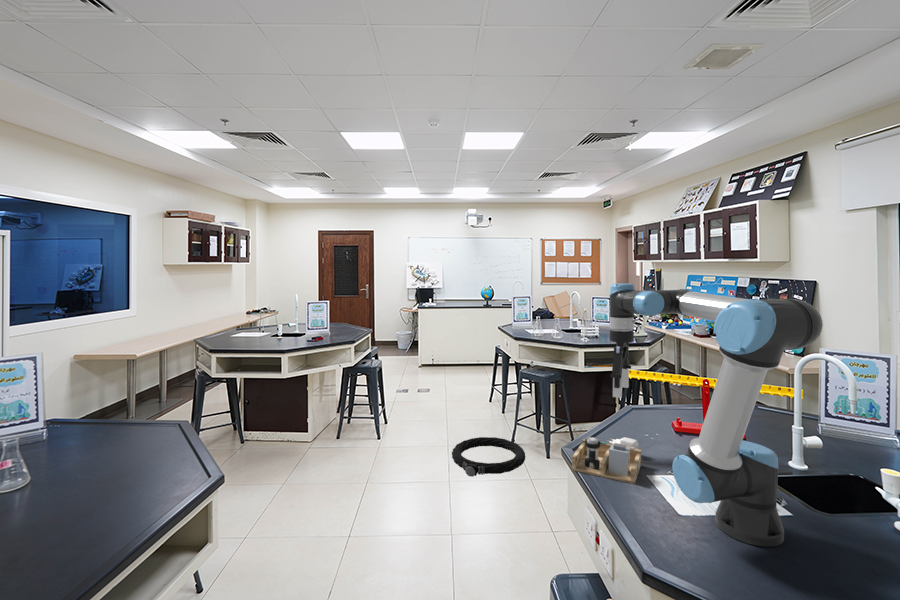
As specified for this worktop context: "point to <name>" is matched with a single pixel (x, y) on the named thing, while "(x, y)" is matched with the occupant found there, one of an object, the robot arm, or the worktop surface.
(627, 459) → the block
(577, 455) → the divided wooden rack
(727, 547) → the worktop surface
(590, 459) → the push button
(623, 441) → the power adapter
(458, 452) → the cable lock
